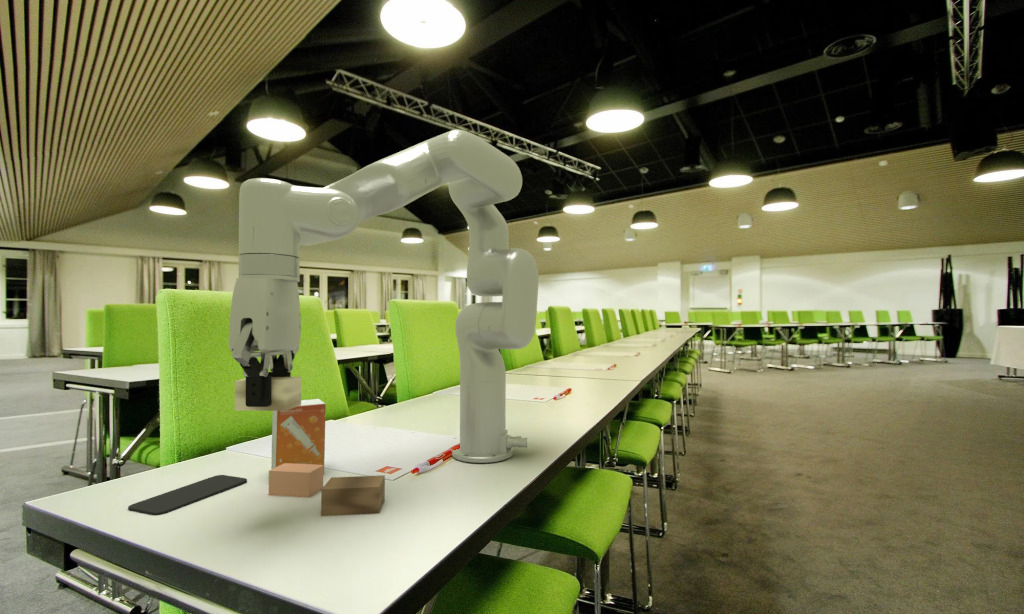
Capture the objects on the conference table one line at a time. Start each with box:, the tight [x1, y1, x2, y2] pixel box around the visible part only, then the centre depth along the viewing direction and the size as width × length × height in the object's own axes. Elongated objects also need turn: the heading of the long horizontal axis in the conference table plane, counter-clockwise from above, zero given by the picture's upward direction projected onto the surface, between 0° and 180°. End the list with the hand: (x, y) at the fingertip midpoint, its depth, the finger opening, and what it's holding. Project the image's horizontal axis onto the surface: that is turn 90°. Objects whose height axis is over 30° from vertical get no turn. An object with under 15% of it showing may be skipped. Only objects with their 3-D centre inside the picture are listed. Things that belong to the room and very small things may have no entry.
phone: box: [127, 474, 248, 516], centre depth 73 cm, size 7×1×15 cm
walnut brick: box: [320, 474, 386, 517], centre depth 68 cm, size 8×5×4 cm, turn 97°
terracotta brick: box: [268, 463, 324, 498], centre depth 74 cm, size 7×4×4 cm, turn 82°
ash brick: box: [234, 376, 302, 412], centre depth 63 cm, size 7×4×4 cm, turn 87°
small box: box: [270, 398, 327, 476], centre depth 83 cm, size 8×6×13 cm
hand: (268, 401), depth 63 cm, fingers closed on ash brick, 4 cm apart
